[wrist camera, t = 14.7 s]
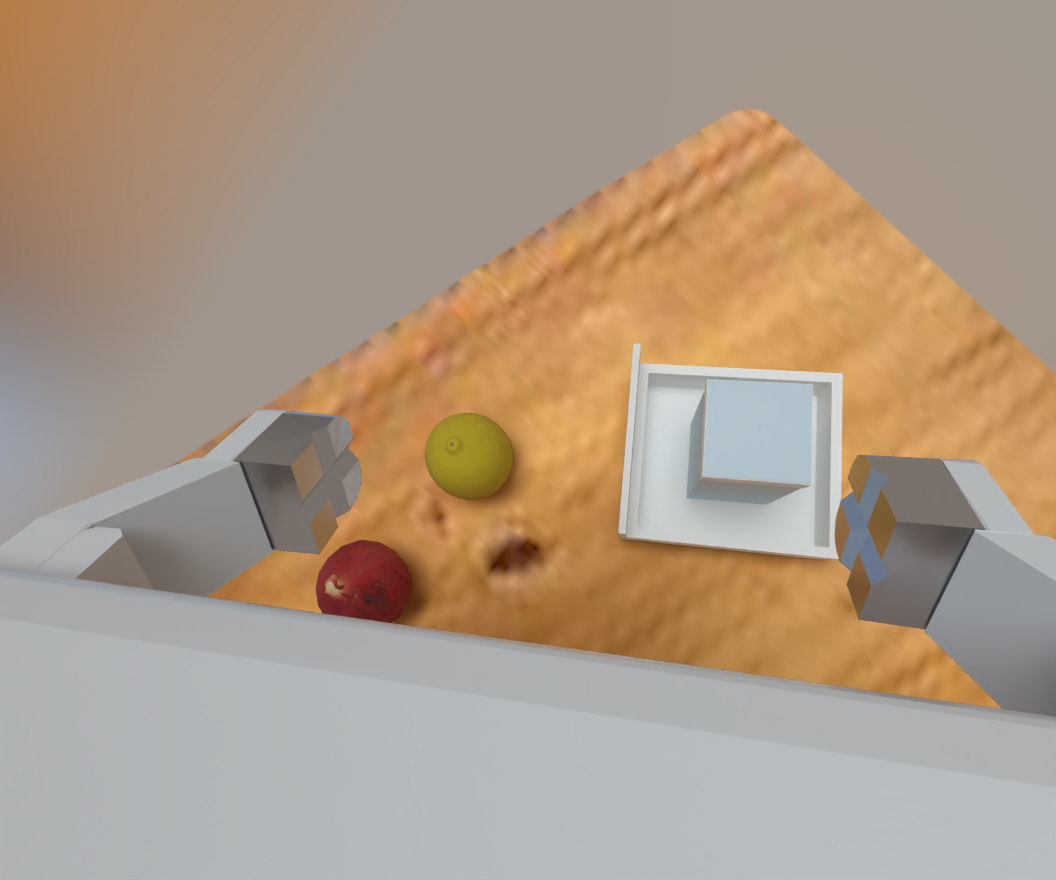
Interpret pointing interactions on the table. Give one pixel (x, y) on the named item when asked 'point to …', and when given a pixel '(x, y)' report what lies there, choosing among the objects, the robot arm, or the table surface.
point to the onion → (364, 582)
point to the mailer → (672, 518)
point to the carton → (750, 441)
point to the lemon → (469, 456)
